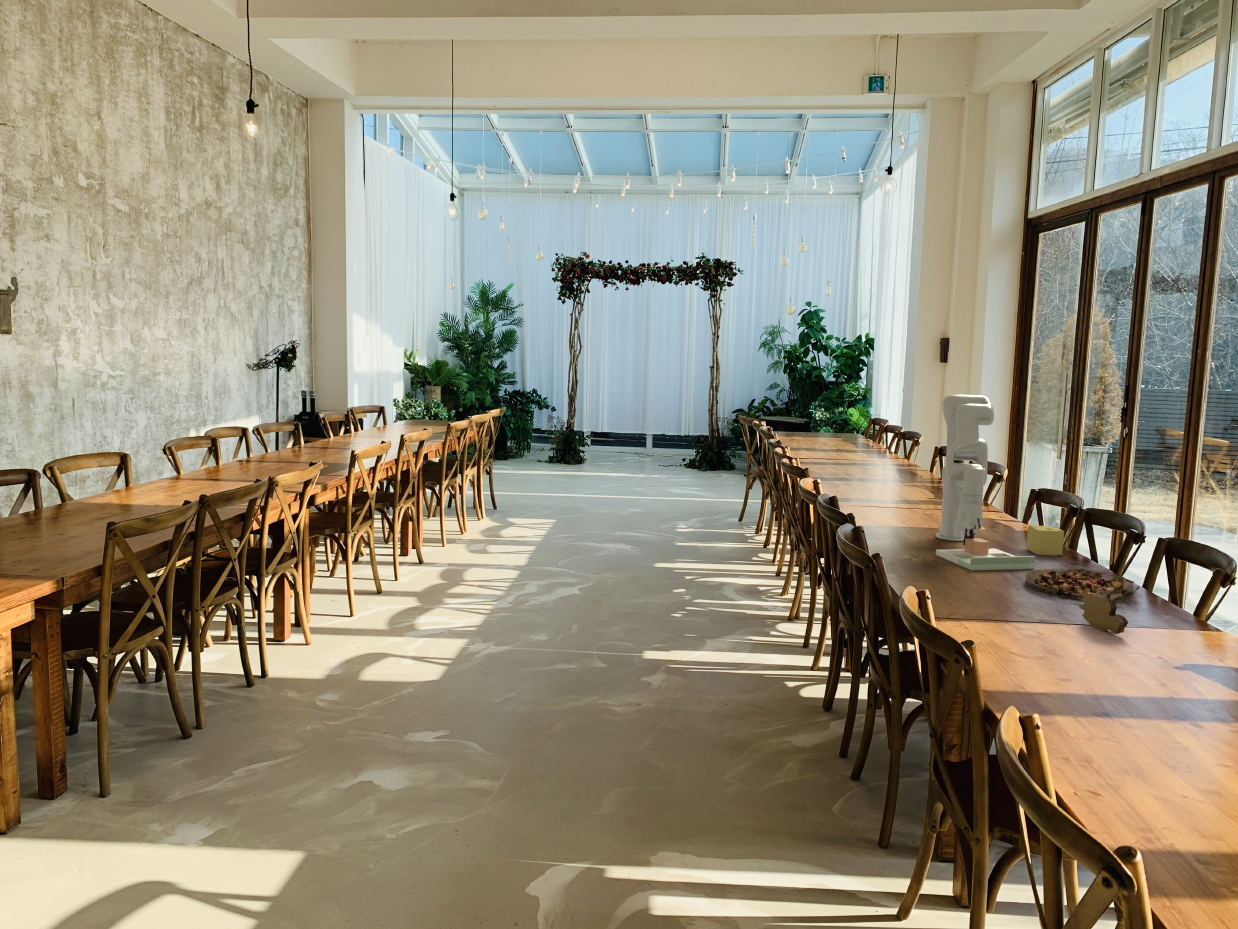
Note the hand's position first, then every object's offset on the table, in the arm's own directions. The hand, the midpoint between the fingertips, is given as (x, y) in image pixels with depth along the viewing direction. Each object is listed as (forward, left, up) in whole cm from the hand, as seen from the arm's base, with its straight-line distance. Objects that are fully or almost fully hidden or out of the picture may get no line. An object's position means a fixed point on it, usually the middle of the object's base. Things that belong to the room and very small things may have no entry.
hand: (968, 545), depth 339 cm
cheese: (-2, +34, -4) cm, 34 cm away
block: (+5, 0, -2) cm, 6 cm away
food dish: (+50, +9, -4) cm, 51 cm away
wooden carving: (+89, -14, -4) cm, 91 cm away
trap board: (+9, 0, -4) cm, 10 cm away
